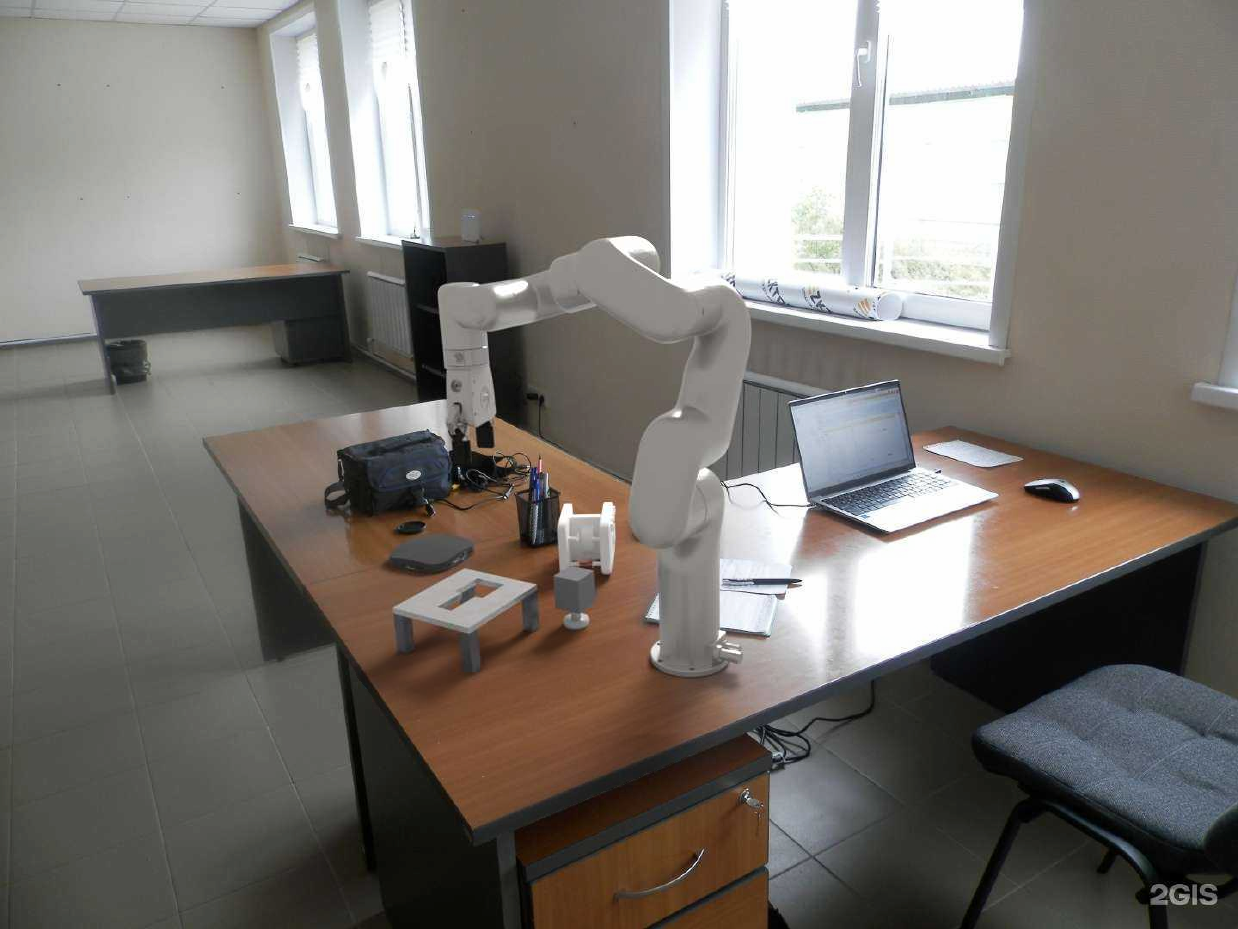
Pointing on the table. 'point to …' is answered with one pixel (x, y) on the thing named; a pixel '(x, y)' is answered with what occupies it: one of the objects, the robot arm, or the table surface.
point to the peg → (574, 595)
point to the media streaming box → (431, 553)
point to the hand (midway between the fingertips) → (474, 455)
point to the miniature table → (465, 610)
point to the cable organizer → (587, 537)
